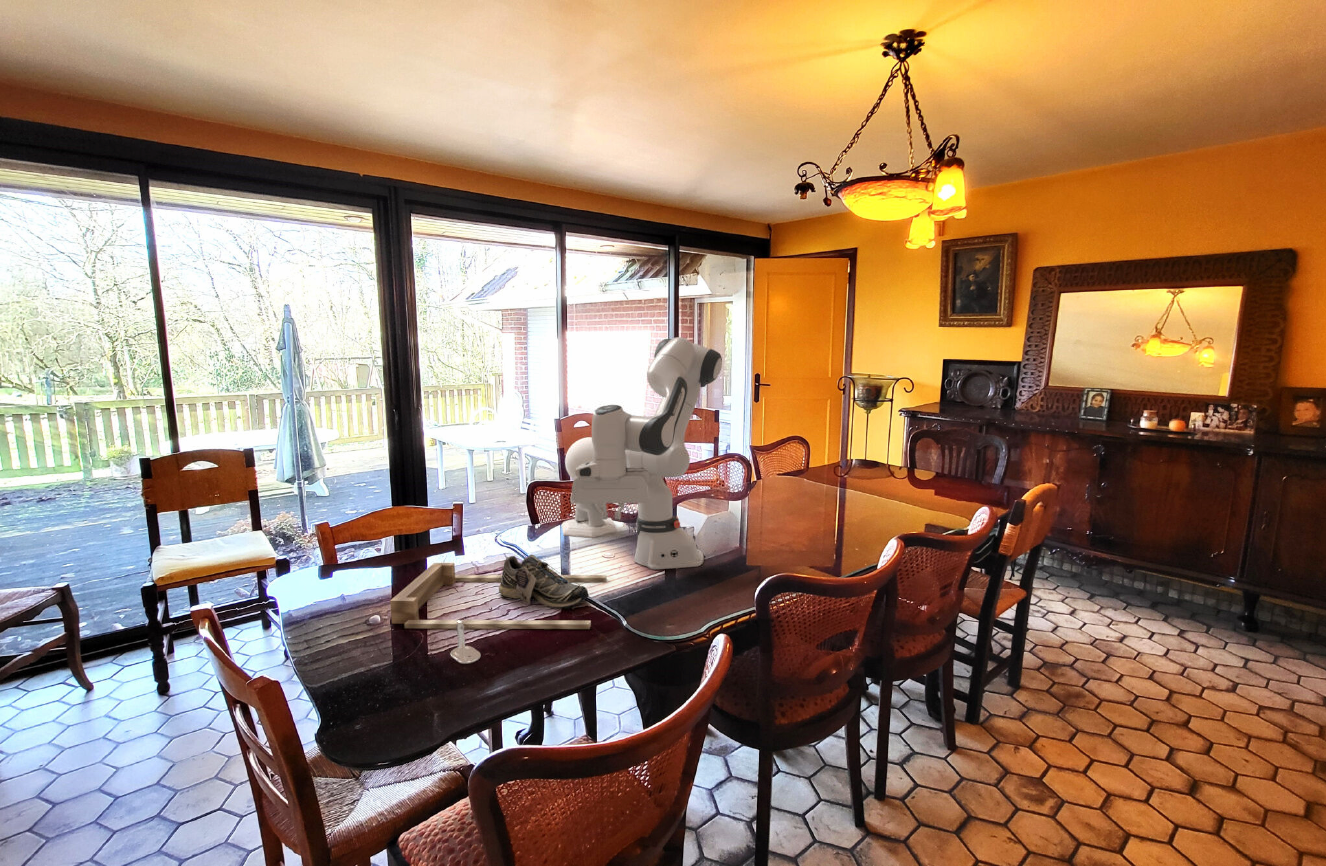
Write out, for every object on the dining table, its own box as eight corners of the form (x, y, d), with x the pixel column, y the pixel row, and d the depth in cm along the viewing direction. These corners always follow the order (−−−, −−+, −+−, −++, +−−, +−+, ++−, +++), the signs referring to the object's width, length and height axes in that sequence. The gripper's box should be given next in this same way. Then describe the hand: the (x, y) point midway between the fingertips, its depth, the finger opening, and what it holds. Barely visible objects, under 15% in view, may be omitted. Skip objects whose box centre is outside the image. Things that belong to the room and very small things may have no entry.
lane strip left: (590, 625, 144) (590, 620, 143) (589, 628, 142) (589, 624, 141) (408, 624, 145) (408, 619, 145) (404, 628, 143) (404, 623, 143)
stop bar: (455, 582, 171) (454, 562, 171) (415, 623, 146) (413, 600, 145) (435, 582, 172) (434, 562, 171) (392, 623, 146) (390, 600, 145)
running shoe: (575, 616, 148) (573, 571, 147) (486, 601, 158) (483, 559, 156) (597, 597, 160) (596, 555, 158) (512, 584, 169) (510, 545, 168)
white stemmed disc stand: (463, 666, 126) (446, 653, 131) (484, 657, 129) (467, 645, 135) (461, 633, 125) (444, 621, 130) (482, 625, 128) (465, 614, 134)
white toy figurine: (628, 527, 222) (626, 437, 217) (579, 541, 206) (575, 444, 201) (597, 517, 236) (594, 432, 231) (548, 529, 221) (544, 438, 216)
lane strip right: (606, 578, 172) (606, 575, 172) (605, 581, 170) (605, 577, 170) (454, 578, 174) (453, 575, 174) (451, 581, 172) (451, 577, 172)
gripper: (650, 465, 154) (651, 515, 156) (573, 465, 155) (575, 515, 157) (648, 470, 148) (649, 522, 150) (569, 470, 149) (571, 522, 151)
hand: (611, 518), depth 153 cm, fingers open, 2 cm apart
